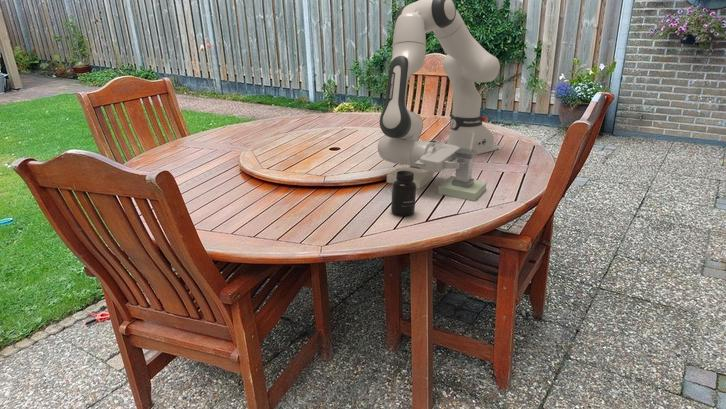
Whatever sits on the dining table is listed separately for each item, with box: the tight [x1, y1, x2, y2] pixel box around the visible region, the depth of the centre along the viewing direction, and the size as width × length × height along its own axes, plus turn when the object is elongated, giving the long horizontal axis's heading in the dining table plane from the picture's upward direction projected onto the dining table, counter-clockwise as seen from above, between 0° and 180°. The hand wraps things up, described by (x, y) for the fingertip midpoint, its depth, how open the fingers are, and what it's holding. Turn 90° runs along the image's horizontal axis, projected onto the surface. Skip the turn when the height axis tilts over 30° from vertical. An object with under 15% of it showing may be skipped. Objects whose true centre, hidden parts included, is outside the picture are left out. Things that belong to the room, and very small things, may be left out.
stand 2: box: [437, 175, 488, 202], centre depth 157 cm, size 12×12×2 cm
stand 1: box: [386, 165, 435, 189], centre depth 167 cm, size 12×12×2 cm
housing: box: [452, 148, 478, 188], centre depth 155 cm, size 6×6×11 cm
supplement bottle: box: [390, 171, 417, 217], centre depth 139 cm, size 7×7×12 cm
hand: (464, 161), depth 154 cm, fingers open, 8 cm apart
